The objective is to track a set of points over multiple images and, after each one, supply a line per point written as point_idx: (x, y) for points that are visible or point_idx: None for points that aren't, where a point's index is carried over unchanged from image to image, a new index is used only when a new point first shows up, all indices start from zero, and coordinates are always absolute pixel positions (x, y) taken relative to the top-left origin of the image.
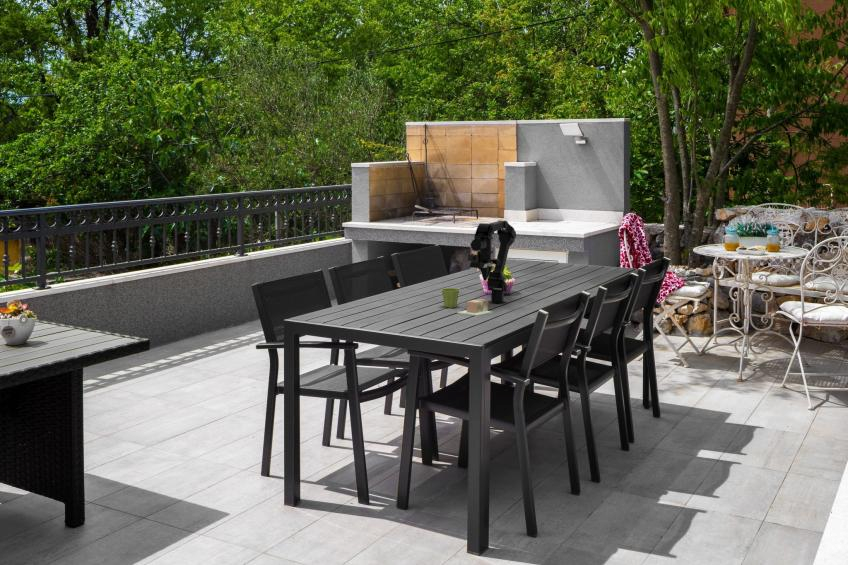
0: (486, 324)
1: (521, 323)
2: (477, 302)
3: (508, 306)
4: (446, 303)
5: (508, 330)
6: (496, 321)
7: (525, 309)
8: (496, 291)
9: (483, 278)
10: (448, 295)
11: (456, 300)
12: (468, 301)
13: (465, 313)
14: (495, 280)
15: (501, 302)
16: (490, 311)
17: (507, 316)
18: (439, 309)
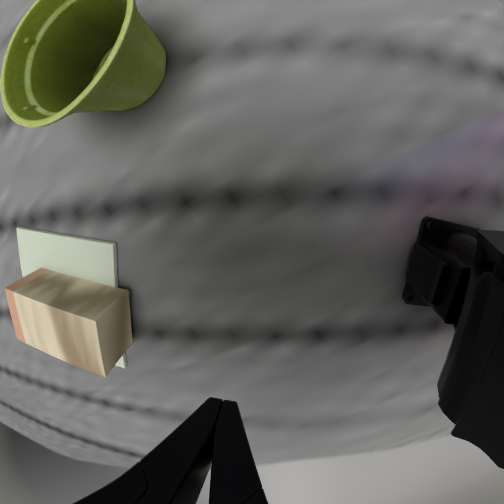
0: (5, 383)
1: (75, 452)
2: (30, 343)
3: (340, 374)
4: (79, 71)
5: (17, 427)
6: (39, 402)
7: (291, 447)
8: (444, 319)
9: (191, 419)
10: (33, 83)
11: (99, 110)
12: (10, 295)
13: (23, 276)
14: (473, 387)
15: (424, 305)
16: (117, 362)
17: (111, 424)
18: None
